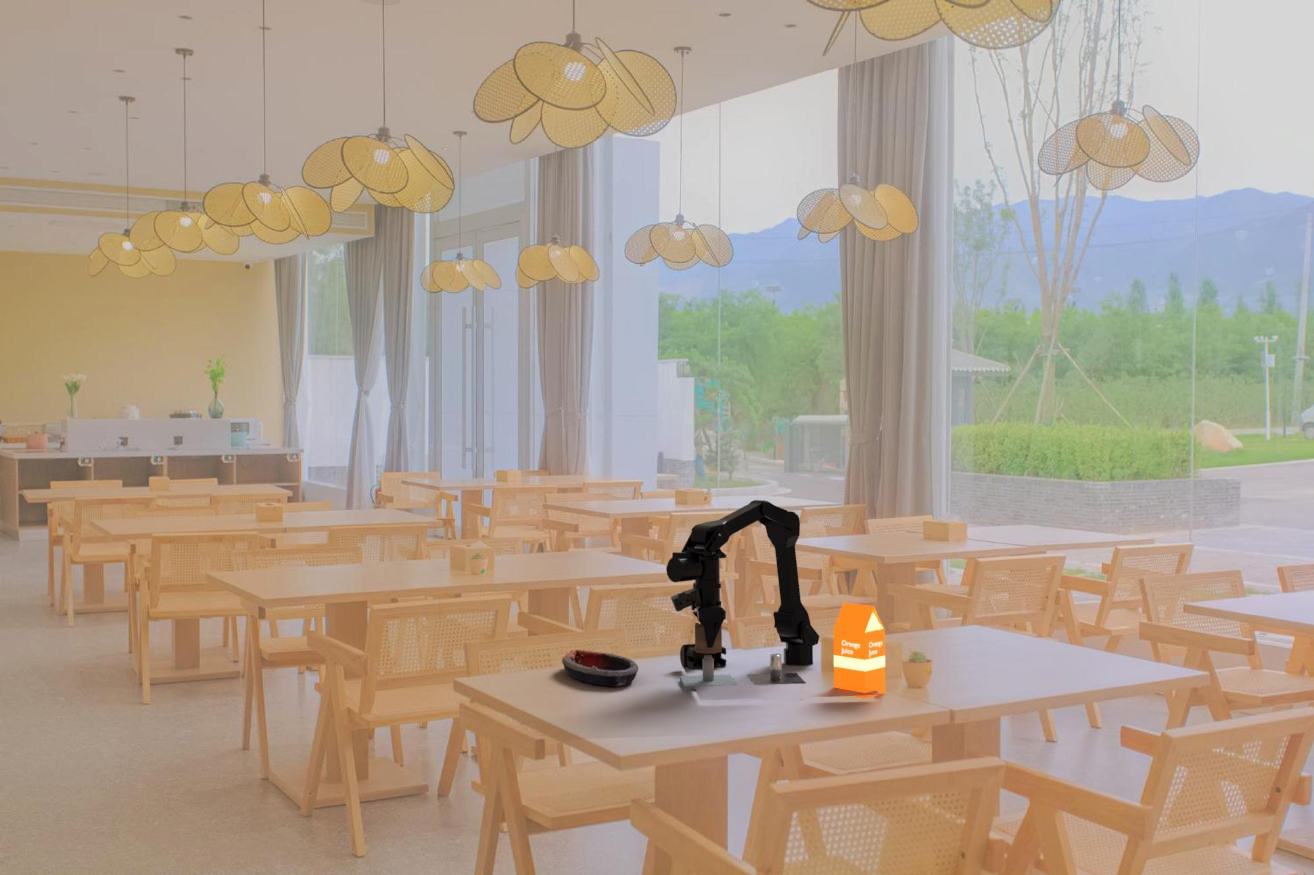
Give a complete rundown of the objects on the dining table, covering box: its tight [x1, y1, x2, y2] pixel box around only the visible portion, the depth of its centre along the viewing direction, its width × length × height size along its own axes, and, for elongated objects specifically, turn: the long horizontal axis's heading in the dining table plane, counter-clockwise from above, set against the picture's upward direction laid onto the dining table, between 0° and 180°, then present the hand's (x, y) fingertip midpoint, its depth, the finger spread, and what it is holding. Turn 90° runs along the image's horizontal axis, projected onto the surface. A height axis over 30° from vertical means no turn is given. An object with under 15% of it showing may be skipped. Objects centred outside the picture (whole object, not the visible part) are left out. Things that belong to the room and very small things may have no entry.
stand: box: [746, 653, 807, 686], centre depth 292 cm, size 12×12×7 cm
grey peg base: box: [679, 655, 738, 692], centre depth 291 cm, size 12×12×7 cm
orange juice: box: [833, 602, 886, 699], centre depth 282 cm, size 8×9×20 cm
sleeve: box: [694, 622, 723, 654], centre depth 291 cm, size 6×6×7 cm
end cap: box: [679, 643, 727, 672], centre depth 309 cm, size 10×7×7 cm
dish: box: [561, 649, 639, 687], centre depth 302 cm, size 16×31×5 cm, turn 23°
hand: (708, 645), depth 291 cm, fingers closed on sleeve, 6 cm apart
